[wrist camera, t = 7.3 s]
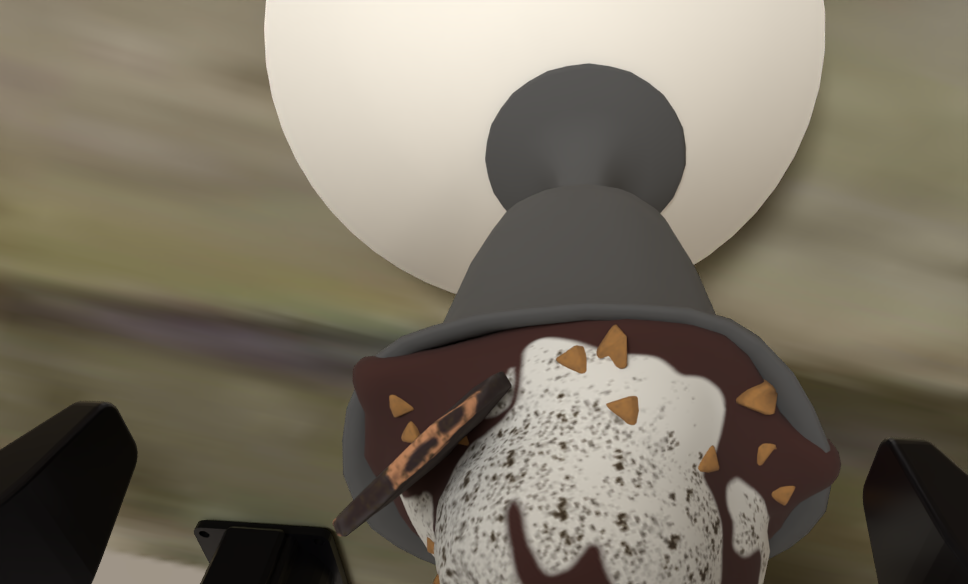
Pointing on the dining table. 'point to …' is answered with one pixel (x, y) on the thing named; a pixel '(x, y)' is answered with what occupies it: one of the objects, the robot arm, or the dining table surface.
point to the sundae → (584, 378)
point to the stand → (504, 69)
